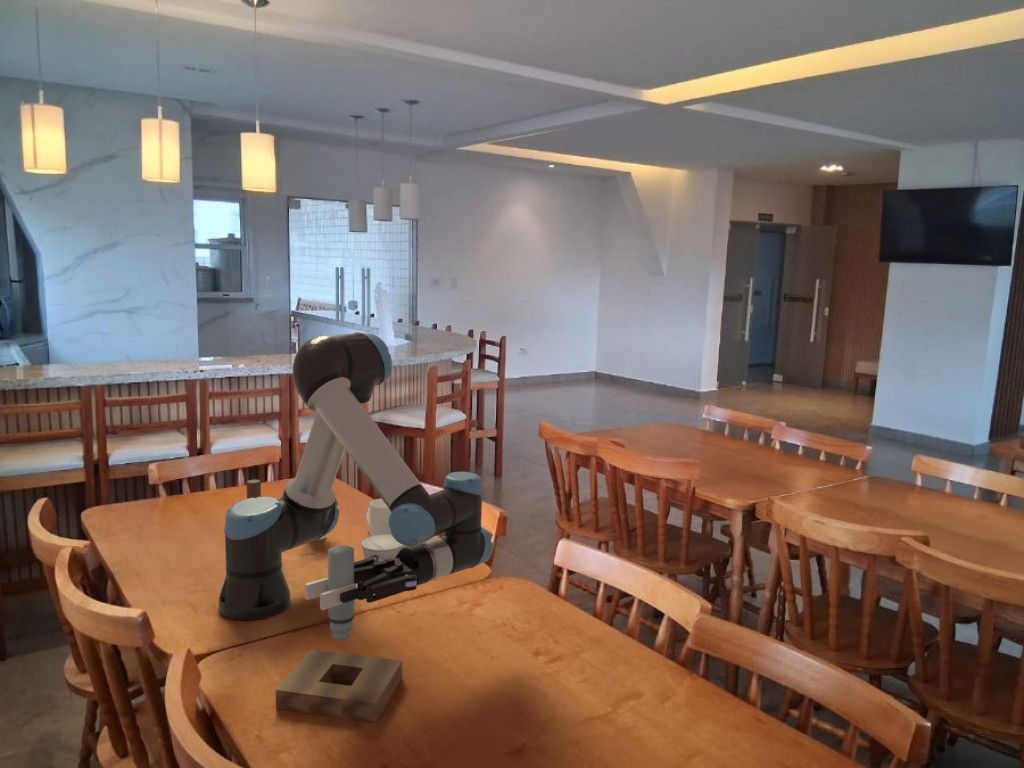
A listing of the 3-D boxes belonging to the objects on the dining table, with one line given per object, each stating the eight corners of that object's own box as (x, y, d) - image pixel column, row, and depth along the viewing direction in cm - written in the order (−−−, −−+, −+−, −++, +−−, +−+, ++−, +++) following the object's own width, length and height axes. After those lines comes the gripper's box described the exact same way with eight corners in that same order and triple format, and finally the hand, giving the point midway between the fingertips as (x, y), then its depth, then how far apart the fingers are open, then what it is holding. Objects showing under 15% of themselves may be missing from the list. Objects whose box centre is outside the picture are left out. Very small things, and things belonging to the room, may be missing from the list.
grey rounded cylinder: (324, 640, 130) (323, 553, 128) (334, 629, 134) (334, 544, 132) (348, 643, 129) (348, 556, 127) (357, 631, 134) (357, 546, 131)
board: (275, 708, 128) (275, 689, 128) (311, 666, 142) (311, 649, 141) (375, 722, 125) (375, 703, 125) (402, 678, 139) (402, 660, 138)
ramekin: (353, 565, 190) (353, 545, 189) (376, 550, 200) (376, 531, 199) (391, 573, 186) (391, 552, 185) (413, 557, 196) (413, 538, 195)
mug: (408, 534, 212) (409, 503, 211) (383, 542, 205) (383, 510, 204) (382, 524, 220) (382, 493, 219) (357, 531, 213) (357, 500, 212)
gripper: (452, 596, 137) (341, 636, 121) (396, 567, 150) (289, 600, 133) (452, 557, 136) (340, 593, 120) (396, 531, 148) (288, 560, 132)
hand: (313, 596), depth 127 cm, fingers closed on grey rounded cylinder, 4 cm apart
